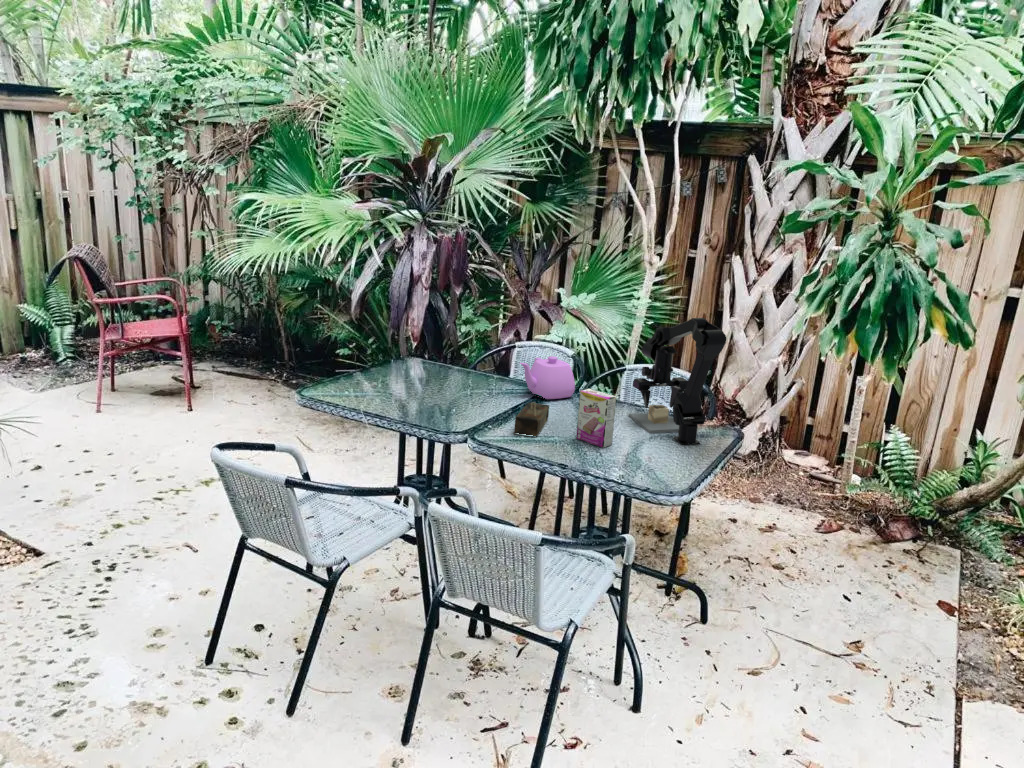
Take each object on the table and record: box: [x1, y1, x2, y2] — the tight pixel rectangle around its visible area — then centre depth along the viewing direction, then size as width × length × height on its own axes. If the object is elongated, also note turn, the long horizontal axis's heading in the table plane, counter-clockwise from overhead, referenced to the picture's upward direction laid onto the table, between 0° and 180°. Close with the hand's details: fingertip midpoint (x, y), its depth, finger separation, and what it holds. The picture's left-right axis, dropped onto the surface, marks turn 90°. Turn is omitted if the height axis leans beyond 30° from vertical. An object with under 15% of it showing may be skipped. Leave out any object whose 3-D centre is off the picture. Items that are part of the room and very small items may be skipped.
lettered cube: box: [647, 404, 670, 424], centre depth 262 cm, size 5×5×5 cm
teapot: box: [519, 355, 576, 400], centre depth 288 cm, size 23×21×15 cm
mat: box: [628, 412, 679, 434], centre depth 263 cm, size 18×14×1 cm
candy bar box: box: [575, 388, 617, 449], centre depth 239 cm, size 11×5×16 cm, turn 47°
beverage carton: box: [513, 401, 550, 437], centre depth 252 cm, size 8×19×7 cm, turn 166°
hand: (658, 407), depth 261 cm, fingers open, 9 cm apart
